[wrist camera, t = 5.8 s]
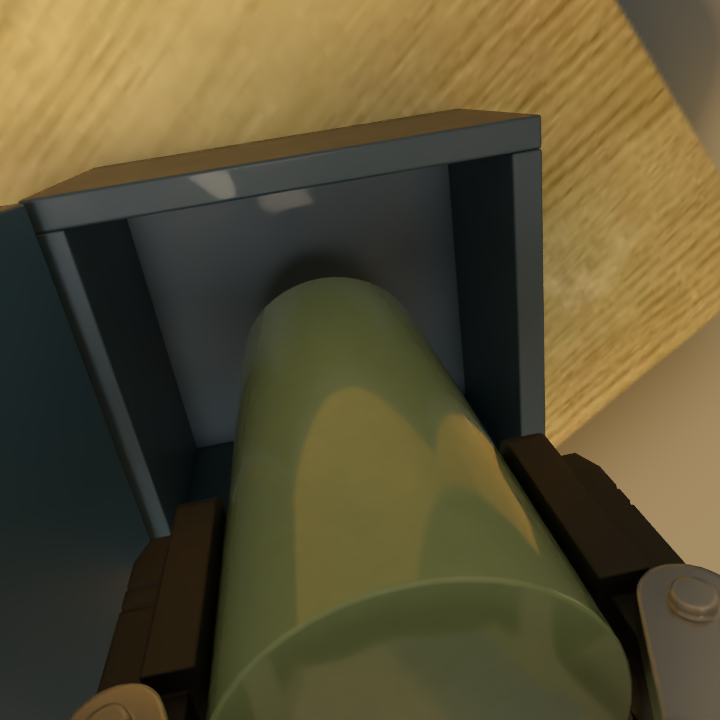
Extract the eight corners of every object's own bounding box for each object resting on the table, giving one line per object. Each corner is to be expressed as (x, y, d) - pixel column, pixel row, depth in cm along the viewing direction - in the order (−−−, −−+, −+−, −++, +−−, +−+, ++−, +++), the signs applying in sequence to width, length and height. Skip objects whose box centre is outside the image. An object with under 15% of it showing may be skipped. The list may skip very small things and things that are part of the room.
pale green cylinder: (414, 260, 16) (648, 533, 6) (436, 466, 19) (621, 878, 9) (222, 295, 16) (141, 643, 6) (273, 499, 19) (279, 966, 9)
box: (459, 107, 21) (542, 114, 15) (478, 398, 26) (546, 494, 20) (92, 168, 20) (16, 201, 14) (184, 457, 25) (158, 578, 19)
